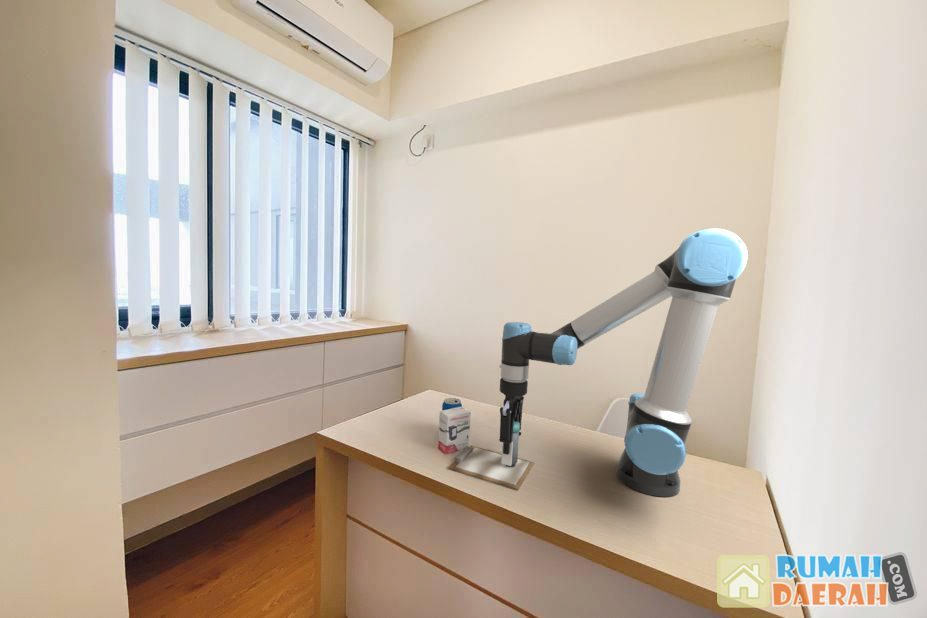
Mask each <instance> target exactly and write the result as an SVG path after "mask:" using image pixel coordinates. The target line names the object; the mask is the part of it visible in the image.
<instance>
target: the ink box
mask: <svg viewBox="0 0 927 618" xmlns="http://www.w3.org/2000/svg"><path fill="white" fill-rule="evenodd" d="M438 421H439V424H438V449H439V450H440V451H441V452H442V453H443V454H445V455H448V454H452V453H453V454H454V453H456V452H458V451H460V452H461V451H462V450H463V449H464V448H465V447H466V446H468V447H470V434H471V433H470V432H471V429H470V427H471V411H469V410H468V409H466V408H465V407H464V406H462V407H457V408H452V409H447V410H442V409H441V411H439V420H438Z"/></svg>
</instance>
